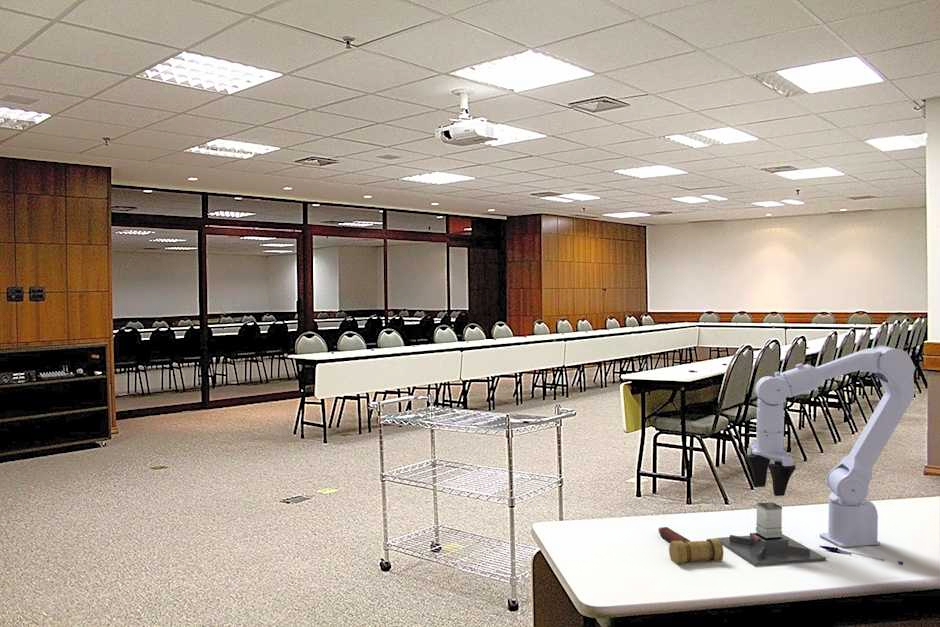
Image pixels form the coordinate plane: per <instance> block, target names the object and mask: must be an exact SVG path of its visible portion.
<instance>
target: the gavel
mask: <svg viewBox="0 0 940 627" xmlns="http://www.w3.org/2000/svg"><path fill="white" fill-rule="evenodd" d="M657 531H658V532H659V535H660V537H661V536H662V537H661V538H662V539H664V538H665V539H664V540H666V542H669V545H668V552H669V553H668V554H669V557H670V558H669V559H670V561H672V562H673V564H676V565H681V564H685V563H686V562H689V563H690V562H691V563H693V562H704V561H705V562H707V561H709V560H710V561H711V562H721V561H723V558H724V553H725V552H724V546H723V545H722V544H721V542H720V540H719V539H717V538H718V537H716V538H707V539H706V540H696V541H695V540H694V541H691V540H690V539H688V538H686V537H685V536H684V535H681V534H680V533H678V532H676V531H675V530H673V529H671V528H669V527H667V526H665V527H664V526H662V527H659V528H658V530H657Z"/></svg>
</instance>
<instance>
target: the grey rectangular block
mask: <svg viewBox="0 0 940 627" xmlns="http://www.w3.org/2000/svg"><path fill="white" fill-rule="evenodd" d="M782 510H783V506H781V505H779V504H777V503H774V502H770V501H769V502H756V527H755V531H756V533H758V534H760V535H761V536H763V537H765V538H774V537H781V535H782V534H783V531H782V530H783V529H782V528H783V526H782V522H783V520H782V518H783V516H782V515H783V514H782V513H783V511H782Z"/></svg>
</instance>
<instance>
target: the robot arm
mask: <svg viewBox="0 0 940 627" xmlns="http://www.w3.org/2000/svg"><path fill="white" fill-rule="evenodd" d="M858 371H862V372H868V373H873V374H874V375H875V376H876V377H877V378H878V379H879V381H880V383H881V386H882V389H883V390H884V393H883V395H882V397H881V399H880V401H879V402H878V404H877V406H876V407H875V409H874V411H873V412H872V414H871V416H870V417H869V420H868V421H867V423H866V424H865V426H864V428H863V430H862V431H861V433H860V435H859V437H858V439H857V440H856V441H855V443H854V445H853V447H852V449H851V450H850V452H849V454H847V455H846V456H845V457H843V458H842V459H841V460H840V462H838V464H837V465H836V466H835V467H833V468H832V469H831V470H829V471H828V473H827V476H826V483H827V487H828V488H829V489H830V490H831V492H830V494H829V496H828V529H827V530H828V531H827V533H826V532H825V533H824V532H823V533H819V537H821V538H822V539H825V540H827V541H829V542H831V543H833V544H835V545H836V546H838V547H840V548H850V547H861V546H874V545H875V546H877V545H881V543H880V541H878V530H879V528H878V527H879V526H878V524H879V519H878V518H879V517H878V516H879V514H878V511H877V508H876V505H875V504H874V503H873V502H872V501H871V500H870V499H869V500H868V499H866V498H867V497H868V495H869V486H870V483H871V481H872V479H873V467H874V465H875V464H876V462H877V461H878V458H879V457H880V456H881V453H882V451H883V450H884V448H885V446H886V445H887V443H888V441H889V440H890V439H891V437H892V435H893V433H894V431H895V430H896V428H897V426H898V425H899V423H900V421H901V420H902V418H903V416H904V414H905V412H906V411H907V409H908V408H909V406H910V404H911V403H912V401H913V399H914V396H915V380H914V375H915V371H916V366H915V364H914V362H913V360H912V358H911V356H910V355H909V354H908V353H907V351H905V350H902V349H900V348H892V347H891V346H888V345H881V344H880V345H877V346H874V347H873V348H869V347H868V348H863V349H861V350H858V351H855V352H852V353H850V354H847V355H845V356H843V357H839V358H836V359H834V360H832V361H829V362H827V363H823V364H821V365H819V366H813V365H811V364H808V363H807V364H803V363H801V362H800V363H797V364H795V368H792V369H789V370H785V371H782V372H780V371H776V372H774V376H770V375H767V376H762V377H761V378H759V379H758V381H757V382H756V384H755V387H754V388H753V390H754V394H755V395H756V396H757V402H756V406H757V408H756V434H755V435H756V439H755V440H756V443H748V453H750V454H746V455H745V456H744V457H745V460H746V461H747V464H748V466H749V468H750V470H751V474H752V478H753V483H754V486H755V487H756V488H761V487H762V488H764V487H766V484H767V479H768V478H767V475H768V469H769V472H770V475H771V481H772V491H773V495H774V496H775V497H782V496H783V497H784V496H785V494H786V490H787V487H788V483H789V480H790V479H791V477H792V475H793V473H794V471H795V470H796V467H797V466H796V465H794V457H793V456H791V455H790V454H788V453H787V452H786V451H785V450H784V449H785V448H784V447H785V443H784V442H785V440H784V438H785V436H784V434H785V411H784V402H785V401H786V400H787V398H789V399H790V398H793V397H796V396H799V395H802V394H805V393H807V392H811V391H814V390H817V389H819V387H820V385H821V384H822V382H823V381H826V380H830V379H833V378H836V377H840V376H844V375H848V374H851V373H854V372H858ZM771 461H773V462H775V463H770V462H771Z"/></svg>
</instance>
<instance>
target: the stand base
mask: <svg viewBox="0 0 940 627" xmlns="http://www.w3.org/2000/svg"><path fill="white" fill-rule="evenodd" d="M716 538H717V539H719V540H720V542H721V544H722V546H723V548H724V547H725V548H726V549H728V550H729V551H730V552H732V553H733V554H735V555H736V556H738V557H740V558H742V559H743V560H744V561H746V562H748V563H749V564H751V565H752V566H754V567H763V566H774V565H775V566H776V565H788V564H789V565H791V564H800V563H801V564H802V563H812V562H813V563H814V562H824V561H825V562H826V561H827V557H826V556H824V555H822V554H820V553H818V552H817V551H814V550H813V549H811V548H809V547H807V546H806V545H804V544H802V543H800V542H798V541H796V540H794V539H793V538H790V537H788V535H785V534H784V533H782V535H781V537H774V538H765V537H763V536H761V535H760V534H758V533H757V532H750V533H749V535H739V536H738V535H734V534H730V535H729V536H725V537H716Z"/></svg>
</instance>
